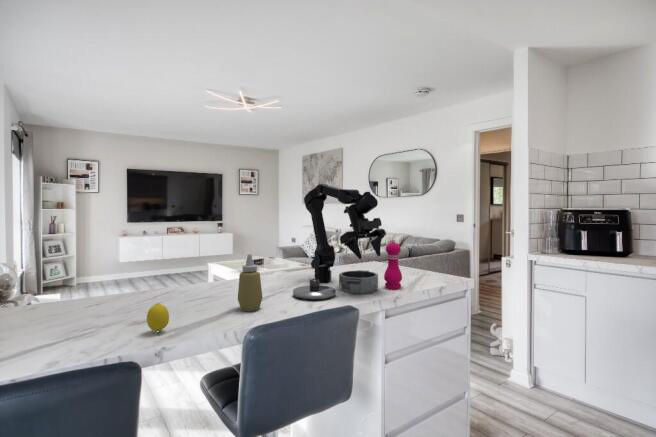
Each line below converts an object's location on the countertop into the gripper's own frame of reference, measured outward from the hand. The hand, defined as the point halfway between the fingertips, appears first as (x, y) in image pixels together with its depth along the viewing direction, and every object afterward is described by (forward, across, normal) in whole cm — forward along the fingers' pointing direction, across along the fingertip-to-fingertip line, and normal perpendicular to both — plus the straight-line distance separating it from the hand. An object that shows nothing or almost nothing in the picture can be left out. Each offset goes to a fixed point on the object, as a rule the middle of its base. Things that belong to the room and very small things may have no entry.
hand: (370, 257), depth 139 cm
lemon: (+10, -73, +10) cm, 74 cm away
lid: (+7, -17, +17) cm, 25 cm away
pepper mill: (+12, +15, +10) cm, 22 cm away
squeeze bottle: (+8, -44, +15) cm, 47 cm away
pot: (+8, +2, +15) cm, 18 cm away
